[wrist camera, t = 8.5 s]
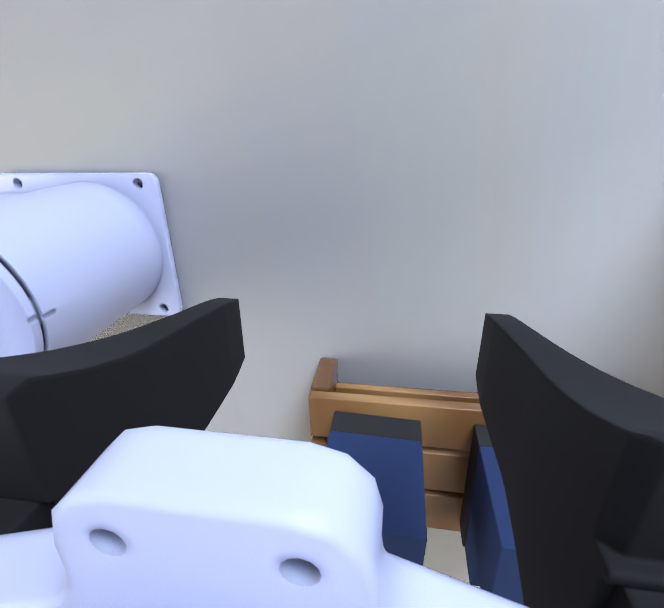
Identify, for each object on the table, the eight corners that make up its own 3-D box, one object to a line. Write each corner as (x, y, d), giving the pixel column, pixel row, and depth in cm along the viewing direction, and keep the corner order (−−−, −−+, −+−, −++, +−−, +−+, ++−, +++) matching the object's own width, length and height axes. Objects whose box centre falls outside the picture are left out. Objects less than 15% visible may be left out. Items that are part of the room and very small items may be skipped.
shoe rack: (325, 471, 28) (315, 516, 25) (320, 357, 24) (308, 393, 21) (545, 495, 26) (564, 547, 23) (576, 374, 22) (605, 417, 19)
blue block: (334, 410, 22) (308, 521, 16) (420, 420, 21) (427, 539, 15) (332, 505, 24) (309, 628, 19) (408, 516, 24) (409, 647, 18)
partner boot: (474, 423, 20) (501, 547, 15) (570, 431, 20) (638, 564, 14) (459, 521, 23) (477, 657, 18) (542, 531, 23) (590, 676, 17)
